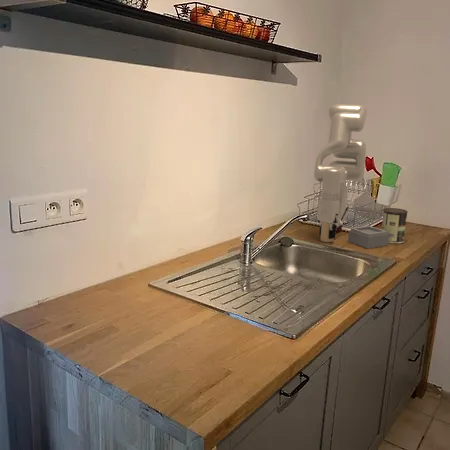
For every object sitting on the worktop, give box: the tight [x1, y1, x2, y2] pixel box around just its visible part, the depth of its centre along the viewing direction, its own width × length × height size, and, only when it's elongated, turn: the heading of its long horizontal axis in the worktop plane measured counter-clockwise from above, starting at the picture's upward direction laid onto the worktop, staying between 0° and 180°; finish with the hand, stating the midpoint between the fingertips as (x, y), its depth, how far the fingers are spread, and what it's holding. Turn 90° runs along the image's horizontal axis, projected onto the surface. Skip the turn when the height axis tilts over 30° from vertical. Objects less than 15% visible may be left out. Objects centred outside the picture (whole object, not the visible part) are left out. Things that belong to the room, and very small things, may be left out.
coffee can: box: [381, 207, 409, 244], centre depth 224 cm, size 10×10×14 cm
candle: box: [320, 222, 334, 243], centre depth 221 cm, size 6×6×10 cm
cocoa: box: [335, 206, 349, 233], centre depth 237 cm, size 10×6×12 cm, turn 61°
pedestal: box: [347, 225, 389, 249], centre depth 219 cm, size 12×12×6 cm
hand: (327, 236), depth 222 cm, fingers closed on candle, 5 cm apart
